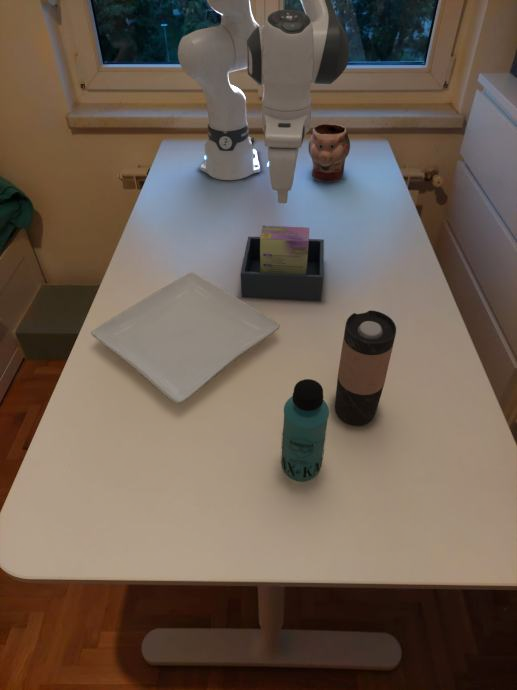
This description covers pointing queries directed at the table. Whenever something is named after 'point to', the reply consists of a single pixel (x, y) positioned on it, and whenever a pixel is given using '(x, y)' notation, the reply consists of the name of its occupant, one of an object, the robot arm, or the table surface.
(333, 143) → the decorative planter
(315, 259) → the bin
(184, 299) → the square plate
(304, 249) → the box
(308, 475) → the beverage bottle
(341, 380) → the travel mug
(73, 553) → the table surface
